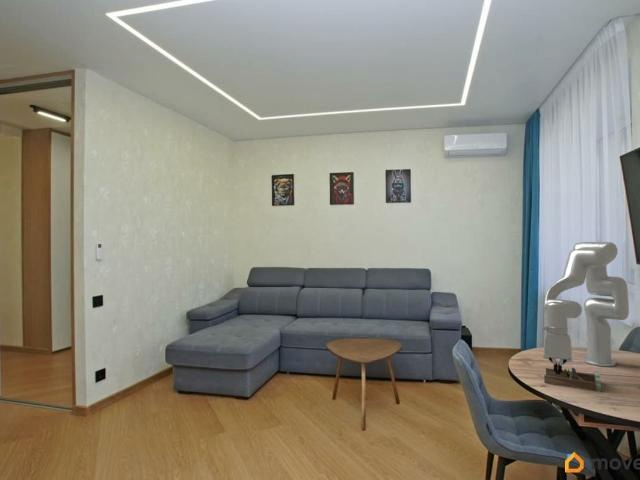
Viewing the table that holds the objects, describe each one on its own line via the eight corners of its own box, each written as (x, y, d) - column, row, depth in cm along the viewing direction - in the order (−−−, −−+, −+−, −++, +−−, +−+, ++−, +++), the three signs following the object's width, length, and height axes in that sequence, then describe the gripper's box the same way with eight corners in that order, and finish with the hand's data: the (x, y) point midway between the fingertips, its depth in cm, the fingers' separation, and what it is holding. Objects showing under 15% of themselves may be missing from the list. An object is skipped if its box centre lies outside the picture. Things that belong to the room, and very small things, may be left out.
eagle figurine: (556, 377, 169) (572, 380, 160) (561, 362, 170) (578, 364, 162) (570, 385, 169) (588, 389, 160) (576, 370, 171) (593, 373, 162)
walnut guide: (546, 374, 176) (545, 365, 176) (599, 382, 165) (599, 372, 165) (544, 382, 166) (544, 373, 166) (600, 391, 155) (600, 381, 155)
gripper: (536, 330, 169) (537, 373, 169) (578, 334, 161) (578, 379, 161) (538, 327, 175) (538, 368, 175) (577, 331, 167) (578, 374, 167)
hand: (557, 373), depth 168 cm, fingers closed
